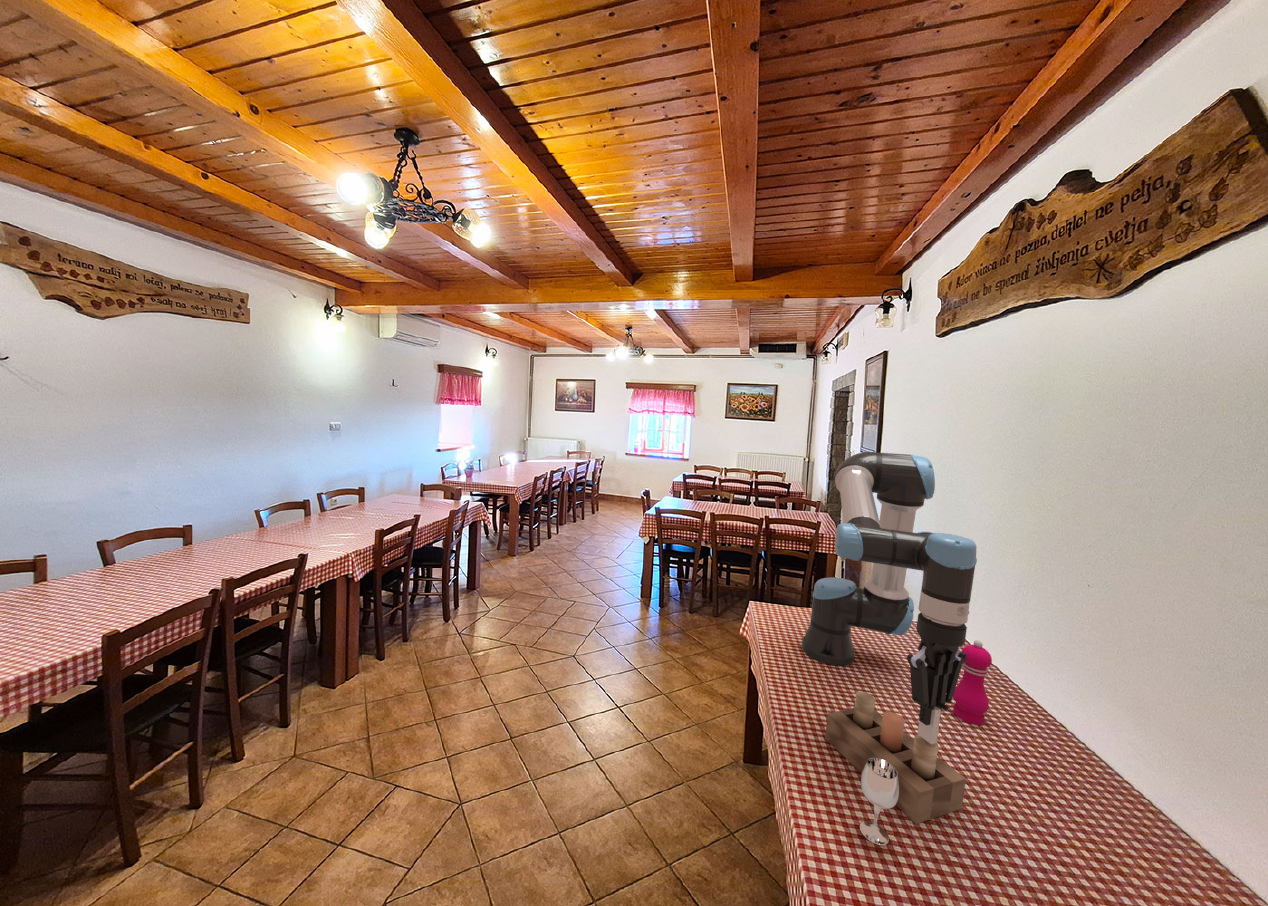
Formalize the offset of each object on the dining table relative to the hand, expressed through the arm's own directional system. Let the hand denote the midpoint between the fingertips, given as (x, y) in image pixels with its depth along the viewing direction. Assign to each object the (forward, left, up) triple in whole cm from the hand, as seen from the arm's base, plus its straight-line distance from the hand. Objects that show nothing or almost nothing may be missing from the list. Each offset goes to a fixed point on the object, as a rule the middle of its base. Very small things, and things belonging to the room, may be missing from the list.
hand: (927, 738), depth 84 cm
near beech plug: (0, 0, -7) cm, 7 cm away
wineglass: (+3, -15, -12) cm, 20 cm away
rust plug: (-7, 0, -7) cm, 10 cm away
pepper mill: (-15, +37, -12) cm, 42 cm away
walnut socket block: (-7, 0, -12) cm, 14 cm away
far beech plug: (-14, 0, -7) cm, 16 cm away
